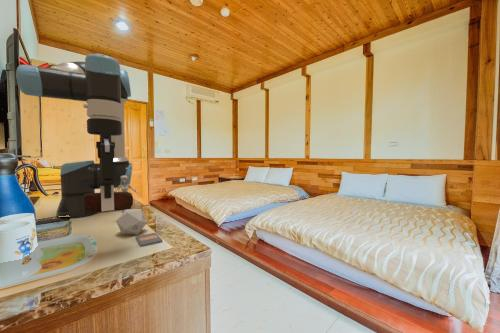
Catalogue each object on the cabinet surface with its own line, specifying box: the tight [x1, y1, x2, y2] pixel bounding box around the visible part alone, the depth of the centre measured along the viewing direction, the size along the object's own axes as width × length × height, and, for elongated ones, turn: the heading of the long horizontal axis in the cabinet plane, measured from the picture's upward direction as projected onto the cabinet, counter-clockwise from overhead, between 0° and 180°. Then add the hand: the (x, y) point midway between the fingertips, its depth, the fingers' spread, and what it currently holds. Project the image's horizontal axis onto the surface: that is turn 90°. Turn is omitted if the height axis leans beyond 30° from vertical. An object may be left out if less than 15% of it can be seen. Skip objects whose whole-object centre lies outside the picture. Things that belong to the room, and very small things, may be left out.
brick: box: [84, 191, 134, 214], centre depth 58 cm, size 11×4×5 cm, turn 127°
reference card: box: [135, 232, 163, 248], centre depth 68 cm, size 8×6×1 cm
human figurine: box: [114, 176, 142, 215], centre depth 87 cm, size 12×4×18 cm, turn 123°
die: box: [115, 208, 148, 235], centre depth 74 cm, size 8×9×10 cm
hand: (107, 208), depth 58 cm, fingers closed on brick, 4 cm apart
